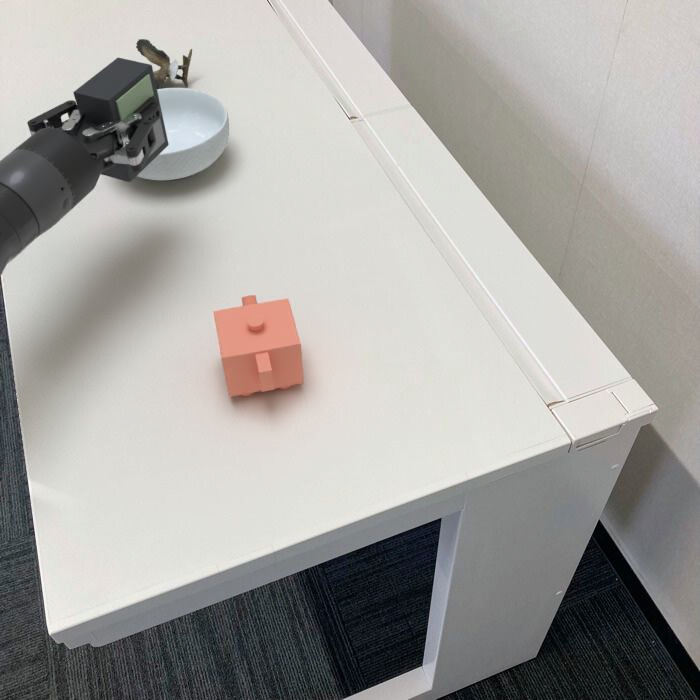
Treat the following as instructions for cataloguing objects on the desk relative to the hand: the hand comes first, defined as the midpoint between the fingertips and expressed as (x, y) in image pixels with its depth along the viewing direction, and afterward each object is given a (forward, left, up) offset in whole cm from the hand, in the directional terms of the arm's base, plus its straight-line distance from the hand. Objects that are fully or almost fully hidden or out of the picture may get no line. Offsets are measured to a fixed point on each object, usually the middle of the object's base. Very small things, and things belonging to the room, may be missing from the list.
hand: (136, 100), depth 86 cm
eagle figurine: (-20, +30, -18) cm, 40 cm away
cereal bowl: (-7, +12, -18) cm, 23 cm away
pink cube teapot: (+22, -17, -18) cm, 33 cm away
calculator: (0, -3, -6) cm, 7 cm away
